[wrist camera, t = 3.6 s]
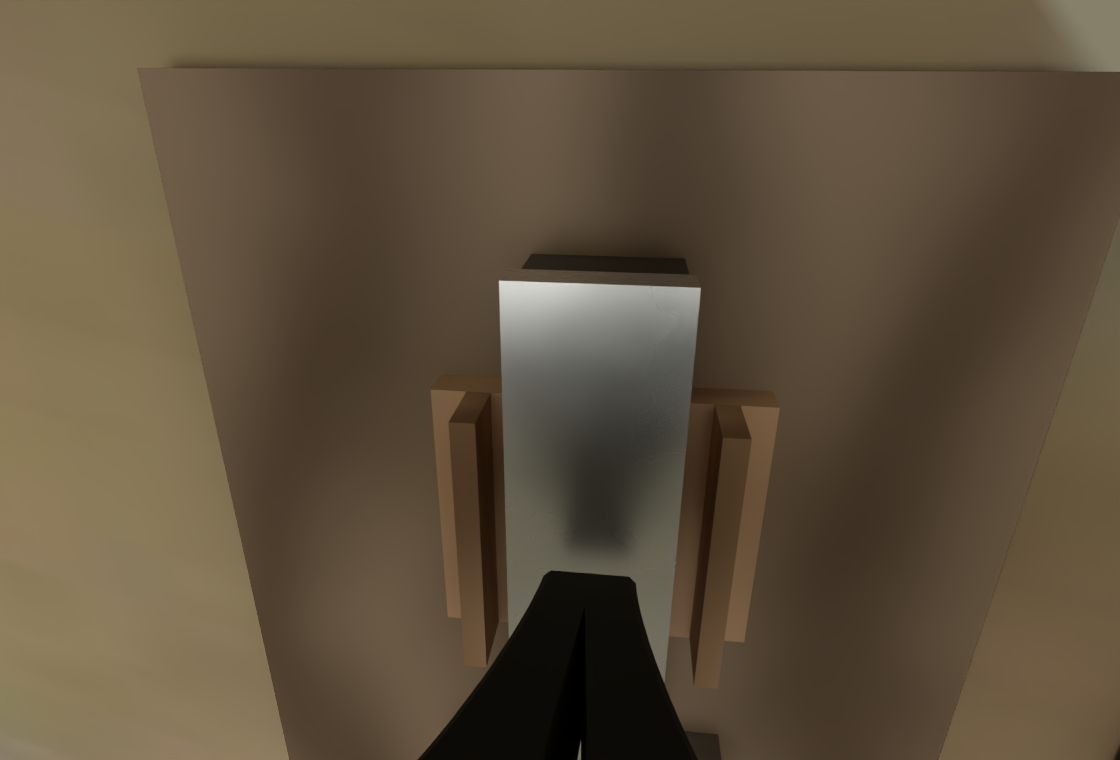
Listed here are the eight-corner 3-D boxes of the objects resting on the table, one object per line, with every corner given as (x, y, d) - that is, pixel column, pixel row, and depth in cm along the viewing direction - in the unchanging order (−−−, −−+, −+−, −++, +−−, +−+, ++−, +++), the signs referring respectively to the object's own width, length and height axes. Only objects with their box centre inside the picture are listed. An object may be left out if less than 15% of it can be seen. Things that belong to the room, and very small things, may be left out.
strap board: (1126, 74, 12) (1382, 61, 8) (893, 820, 20) (960, 1007, 16) (171, 69, 13) (-29, 58, 9) (310, 756, 21) (233, 909, 17)
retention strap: (721, 272, 11) (730, 292, 9) (660, 861, 16) (661, 916, 15) (486, 264, 11) (469, 282, 10) (506, 843, 17) (497, 895, 15)
